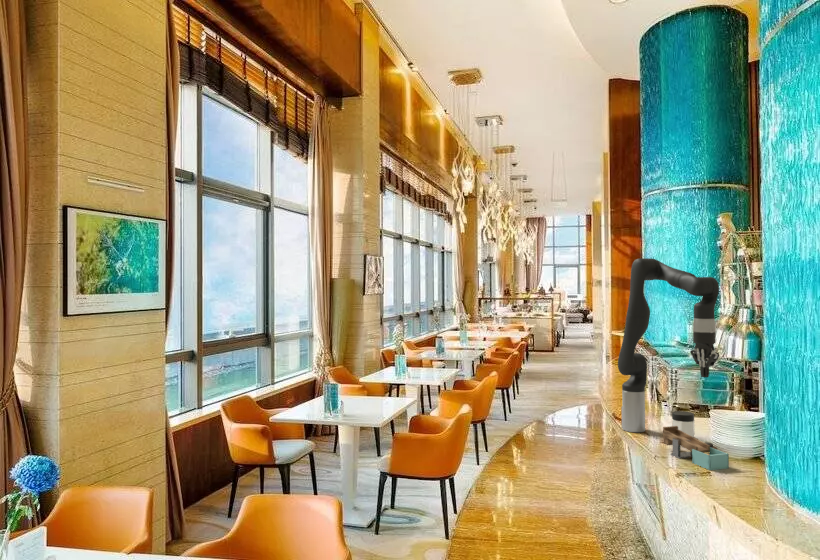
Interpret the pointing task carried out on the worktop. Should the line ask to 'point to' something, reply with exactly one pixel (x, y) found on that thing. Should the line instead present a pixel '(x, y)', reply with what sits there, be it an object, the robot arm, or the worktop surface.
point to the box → (711, 459)
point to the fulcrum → (677, 450)
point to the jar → (684, 422)
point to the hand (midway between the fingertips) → (704, 377)
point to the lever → (685, 440)
